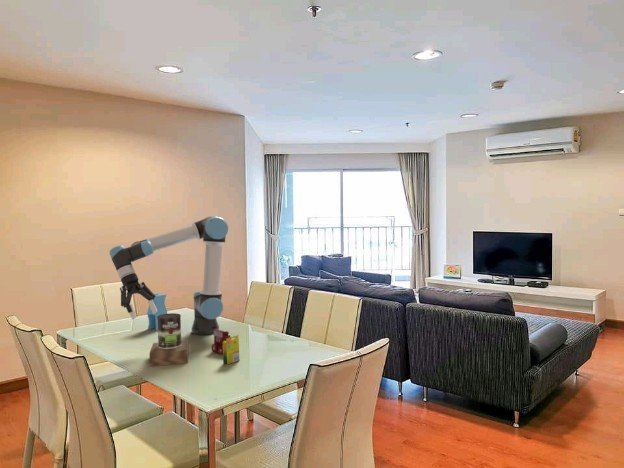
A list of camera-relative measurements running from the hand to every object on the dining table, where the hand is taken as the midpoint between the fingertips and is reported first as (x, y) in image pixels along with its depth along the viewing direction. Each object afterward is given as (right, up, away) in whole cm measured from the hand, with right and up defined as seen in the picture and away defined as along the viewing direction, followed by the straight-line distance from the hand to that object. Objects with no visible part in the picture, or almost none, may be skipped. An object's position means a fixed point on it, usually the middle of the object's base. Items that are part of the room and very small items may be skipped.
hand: (145, 315), depth 223 cm
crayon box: (+44, -18, -16) cm, 51 cm away
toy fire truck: (+38, -18, -1) cm, 42 cm away
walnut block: (+15, -18, -11) cm, 26 cm away
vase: (-9, -16, +46) cm, 50 cm away
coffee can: (+15, -12, -11) cm, 22 cm away
